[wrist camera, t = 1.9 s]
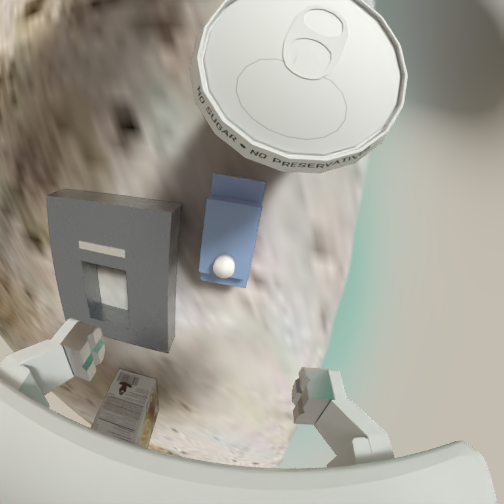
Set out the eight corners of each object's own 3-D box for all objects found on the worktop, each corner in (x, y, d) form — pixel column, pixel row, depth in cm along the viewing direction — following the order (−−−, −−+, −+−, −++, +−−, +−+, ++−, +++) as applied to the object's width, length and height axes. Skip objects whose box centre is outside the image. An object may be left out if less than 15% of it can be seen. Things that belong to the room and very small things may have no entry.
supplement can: (307, 166, 22) (374, 216, 9) (216, 132, 22) (144, 132, 8) (340, 84, 19) (440, 34, 6) (249, 49, 18) (232, -53, 5)
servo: (219, 169, 23) (207, 179, 18) (265, 176, 23) (266, 189, 18) (207, 263, 27) (194, 295, 22) (247, 270, 27) (244, 303, 22)
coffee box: (160, 409, 38) (137, 490, 24) (125, 399, 38) (96, 475, 23) (157, 378, 34) (125, 473, 20) (117, 366, 34) (76, 454, 20)
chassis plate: (63, 188, 24) (46, 196, 21) (181, 203, 24) (171, 213, 21) (77, 309, 30) (66, 323, 27) (174, 336, 31) (168, 353, 28)
